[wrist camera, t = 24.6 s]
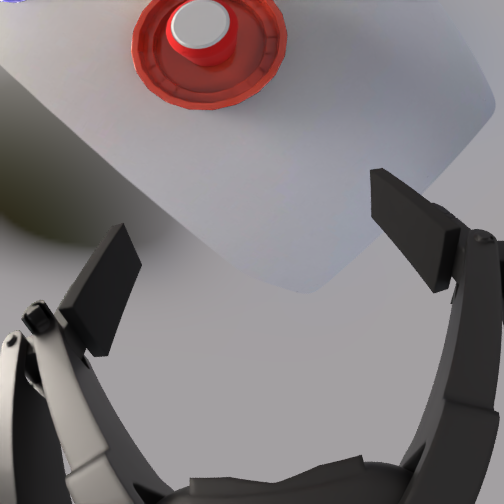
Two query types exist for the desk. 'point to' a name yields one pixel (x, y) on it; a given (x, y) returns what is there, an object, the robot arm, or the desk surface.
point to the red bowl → (213, 77)
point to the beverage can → (203, 31)
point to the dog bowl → (12, 1)
